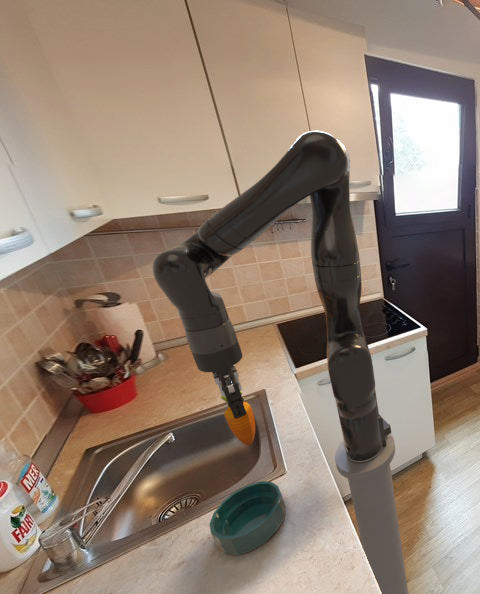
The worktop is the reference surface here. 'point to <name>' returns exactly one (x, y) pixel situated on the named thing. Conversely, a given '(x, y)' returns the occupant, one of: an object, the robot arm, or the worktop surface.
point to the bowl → (248, 518)
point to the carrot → (242, 423)
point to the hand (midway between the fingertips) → (237, 409)
